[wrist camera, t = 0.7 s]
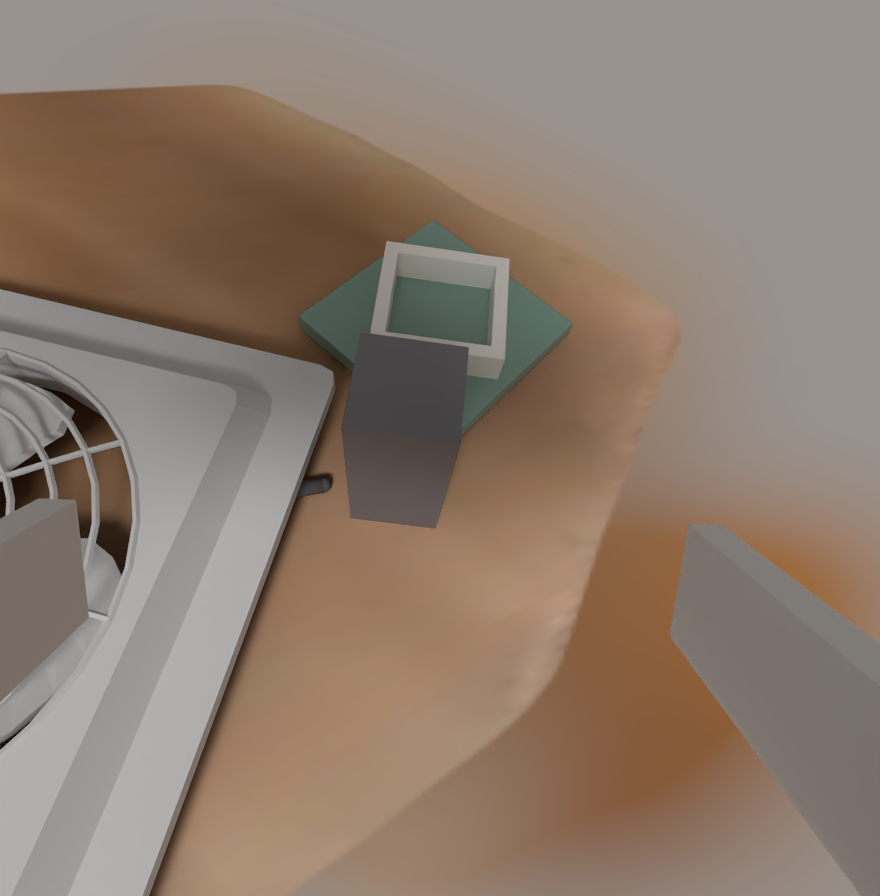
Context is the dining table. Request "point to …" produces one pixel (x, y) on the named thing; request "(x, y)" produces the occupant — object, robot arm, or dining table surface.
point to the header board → (443, 313)
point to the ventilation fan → (140, 579)
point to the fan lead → (314, 487)
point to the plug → (403, 427)
